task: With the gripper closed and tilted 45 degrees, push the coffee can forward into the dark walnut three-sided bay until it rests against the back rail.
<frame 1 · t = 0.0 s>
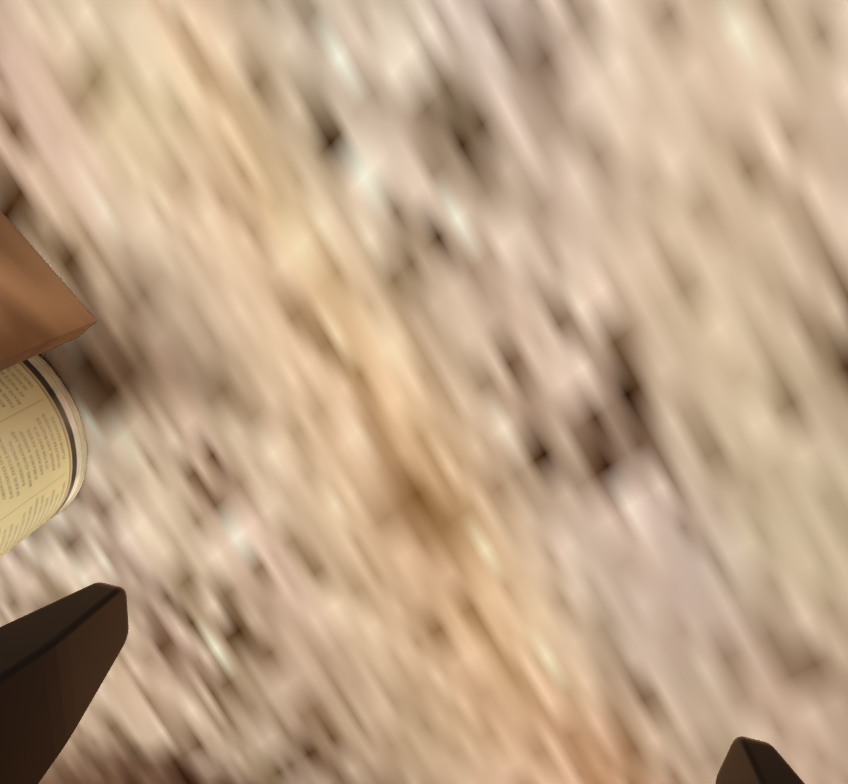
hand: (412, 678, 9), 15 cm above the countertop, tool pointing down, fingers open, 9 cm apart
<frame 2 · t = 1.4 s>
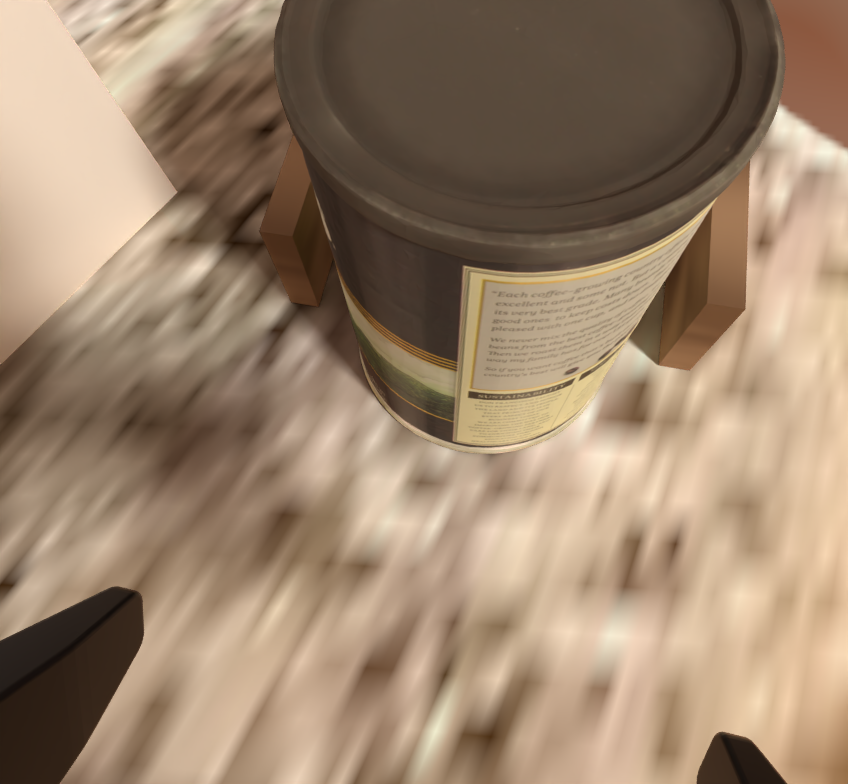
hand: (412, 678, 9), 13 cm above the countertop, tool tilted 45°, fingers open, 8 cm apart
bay: (508, 205, 28), on the countertop
coffee can: (483, 337, 26), on the countertop
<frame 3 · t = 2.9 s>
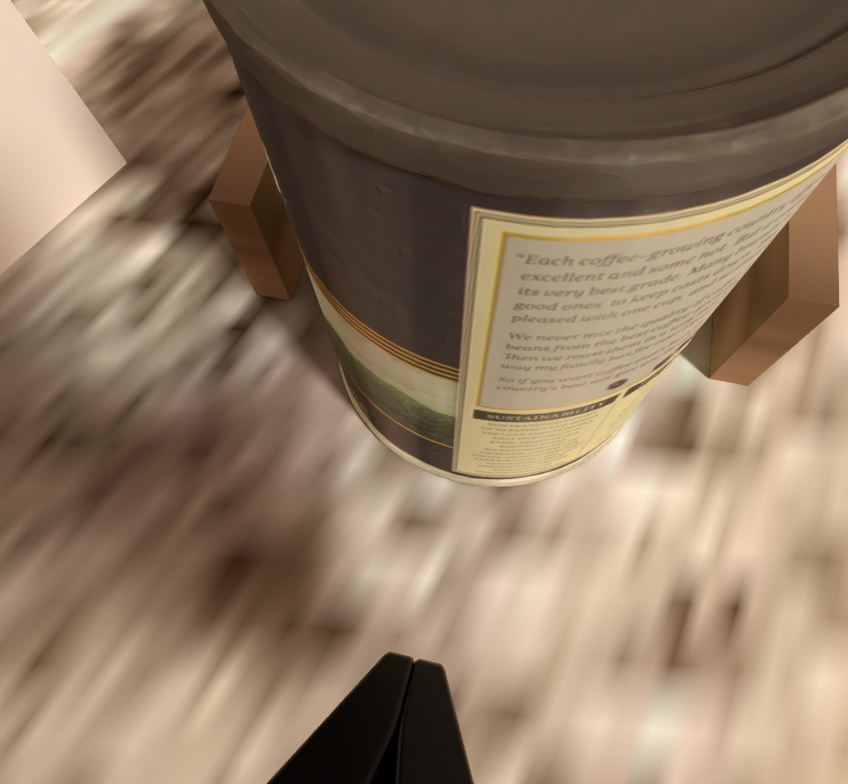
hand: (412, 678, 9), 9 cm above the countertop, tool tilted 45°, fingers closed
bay: (524, 183, 23), on the countertop
coffee can: (492, 341, 21), on the countertop
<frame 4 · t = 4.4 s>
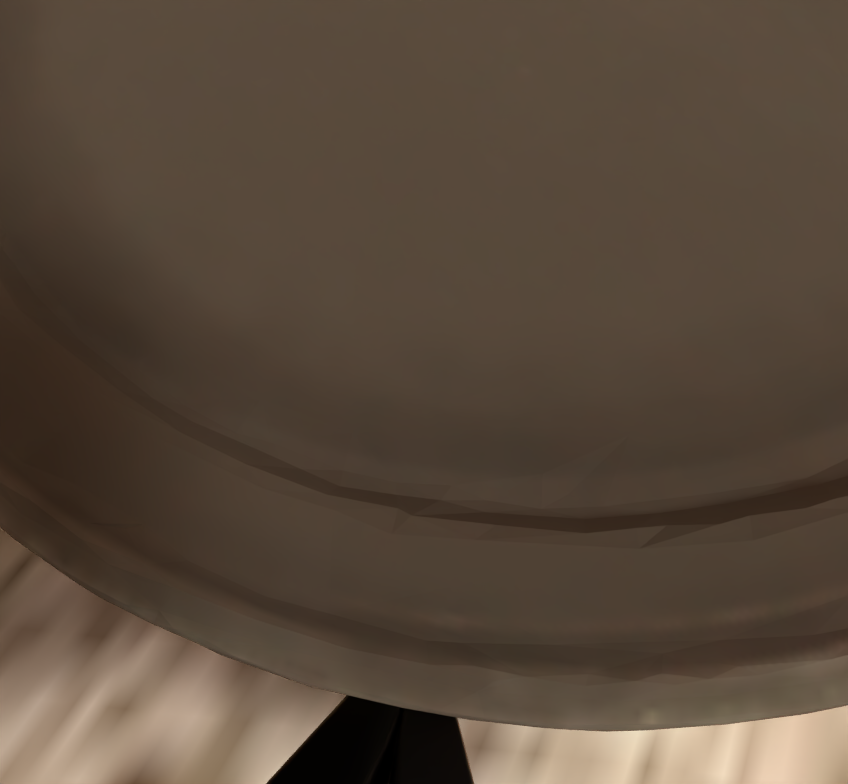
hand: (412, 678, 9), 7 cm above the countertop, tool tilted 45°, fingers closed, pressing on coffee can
coffee can: (464, 470, 18), on the countertop, touching gripper
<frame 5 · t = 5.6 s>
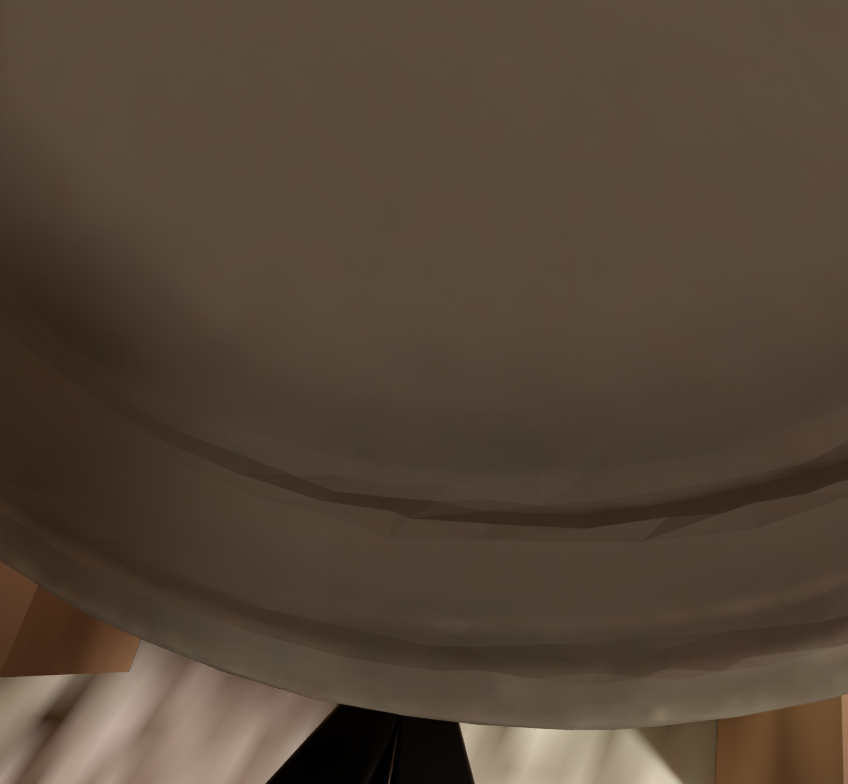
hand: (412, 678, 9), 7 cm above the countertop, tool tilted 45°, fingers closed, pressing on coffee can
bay: (461, 477, 17), on the countertop
coffee can: (457, 466, 18), on the countertop, touching gripper
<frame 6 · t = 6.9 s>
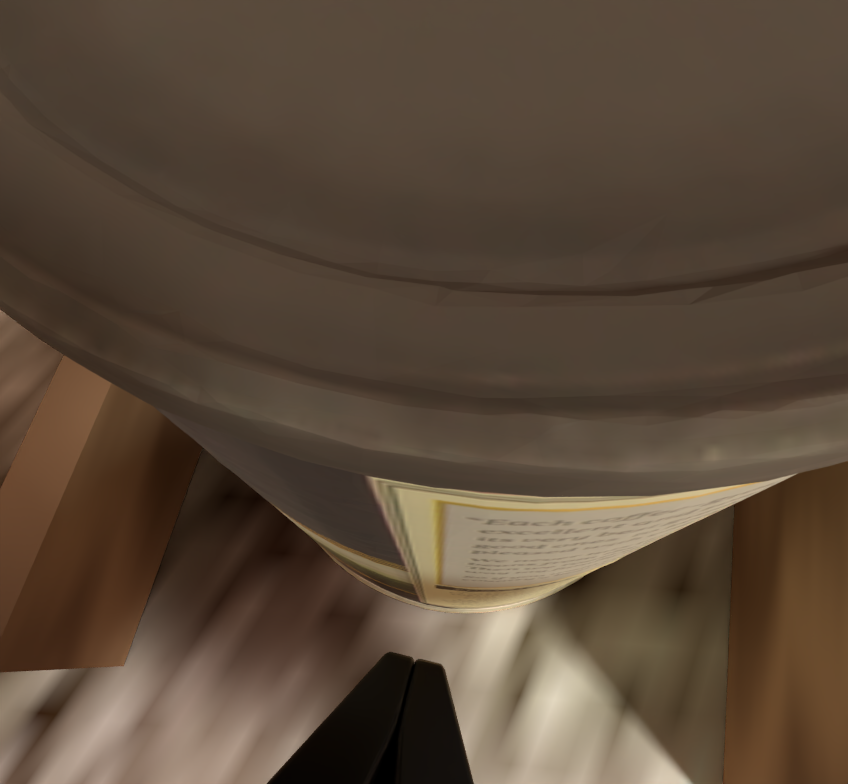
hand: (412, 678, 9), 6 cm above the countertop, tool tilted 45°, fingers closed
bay: (462, 467, 17), on the countertop
coffee can: (465, 422, 18), on the countertop
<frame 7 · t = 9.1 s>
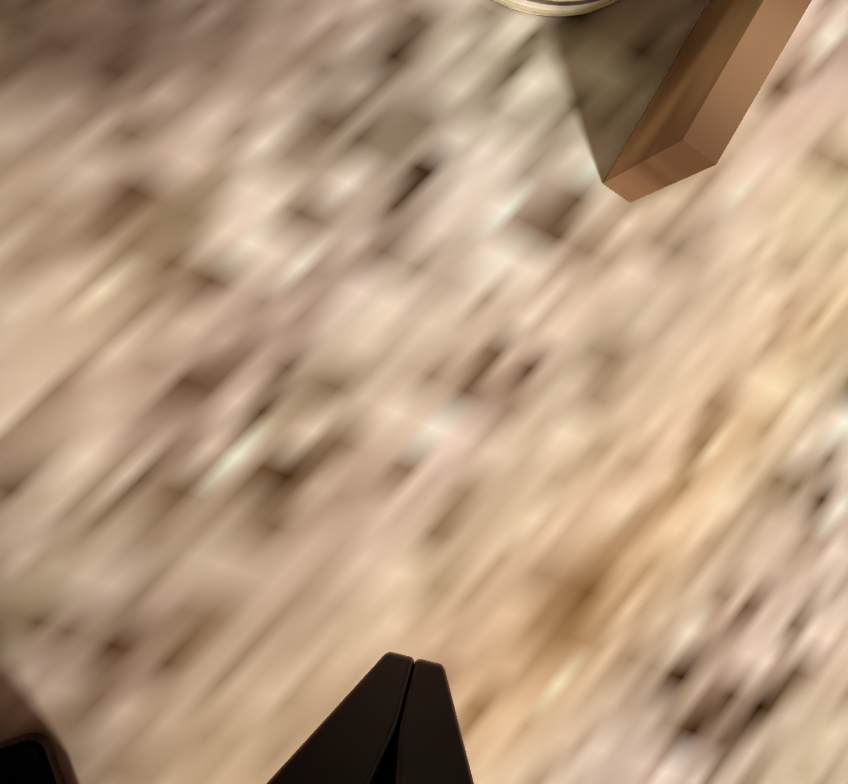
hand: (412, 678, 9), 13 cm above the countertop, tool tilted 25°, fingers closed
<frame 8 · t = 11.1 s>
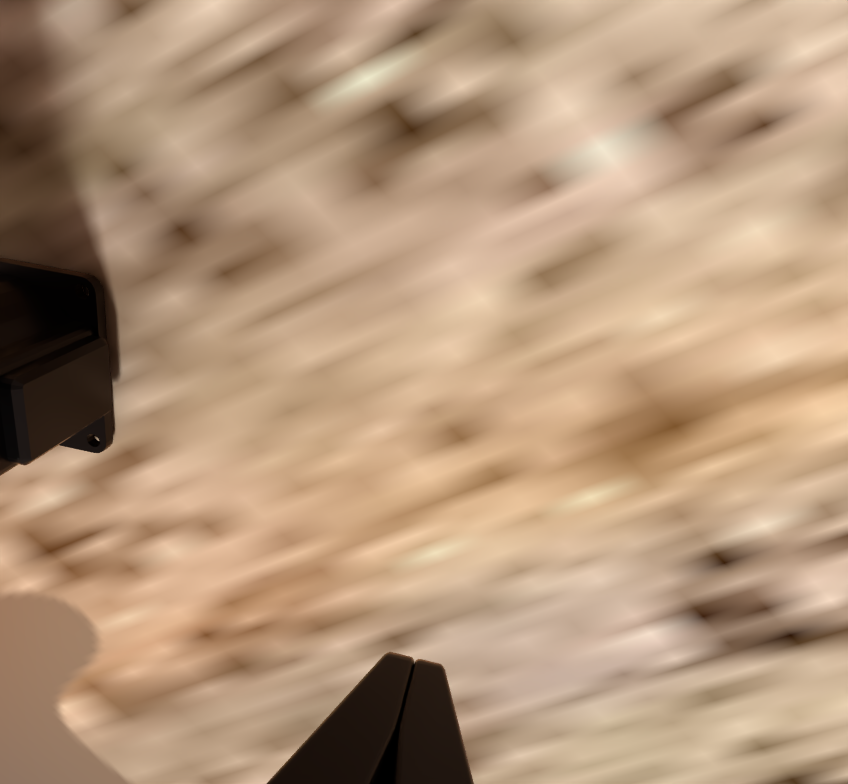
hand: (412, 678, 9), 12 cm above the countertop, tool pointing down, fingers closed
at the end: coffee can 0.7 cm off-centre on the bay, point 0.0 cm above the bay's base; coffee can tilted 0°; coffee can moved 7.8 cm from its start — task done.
